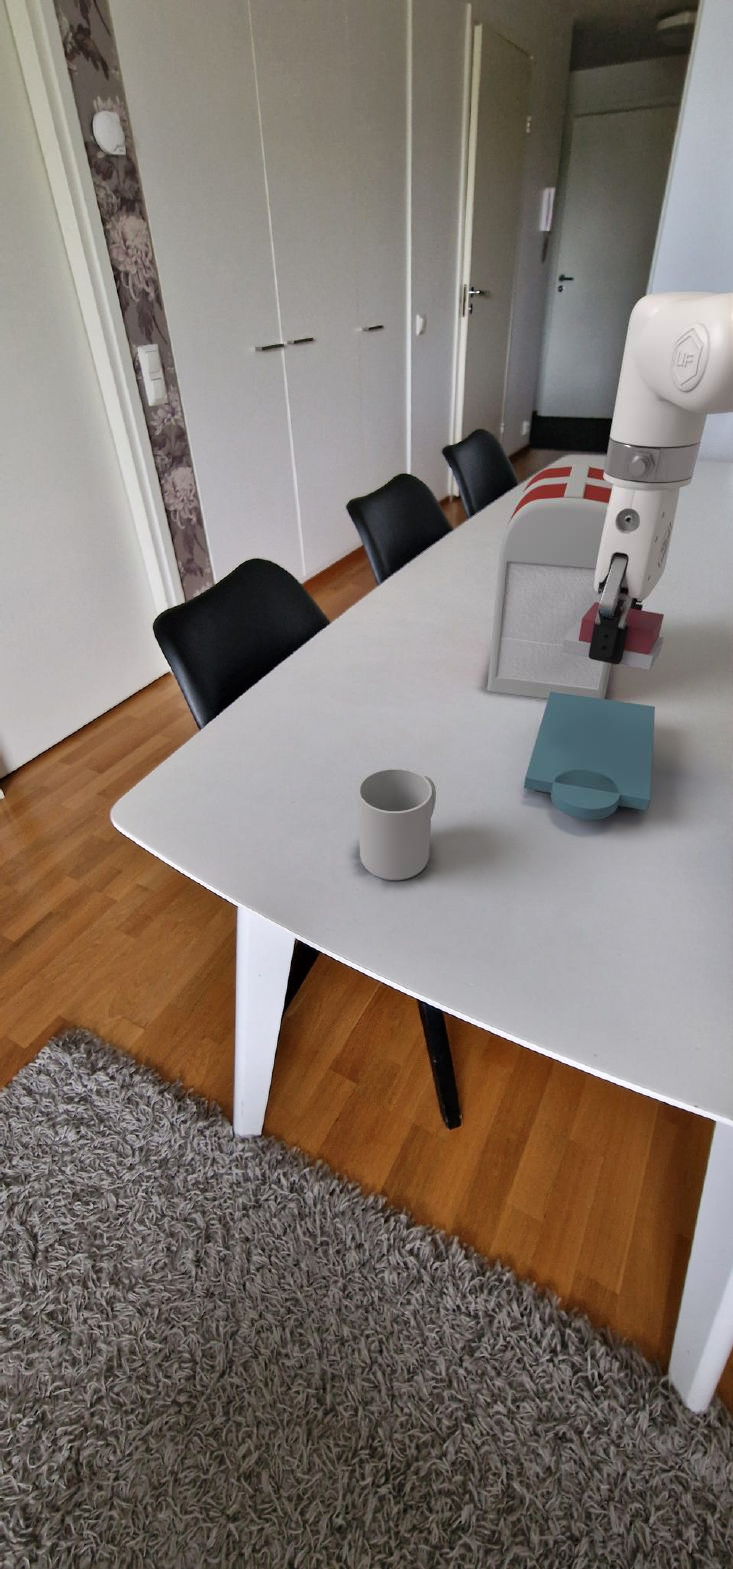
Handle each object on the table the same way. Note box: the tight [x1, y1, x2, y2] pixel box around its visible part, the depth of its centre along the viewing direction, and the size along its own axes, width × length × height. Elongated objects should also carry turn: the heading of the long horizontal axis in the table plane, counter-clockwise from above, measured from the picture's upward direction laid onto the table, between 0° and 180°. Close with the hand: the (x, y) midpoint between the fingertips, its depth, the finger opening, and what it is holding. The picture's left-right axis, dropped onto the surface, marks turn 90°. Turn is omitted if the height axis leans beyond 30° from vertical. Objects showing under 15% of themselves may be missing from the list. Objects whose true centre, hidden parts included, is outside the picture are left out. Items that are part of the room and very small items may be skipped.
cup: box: [356, 767, 437, 881], centre depth 71 cm, size 7×10×9 cm
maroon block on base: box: [562, 602, 665, 671], centre depth 72 cm, size 9×5×4 cm, turn 60°
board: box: [523, 692, 656, 821], centre depth 83 cm, size 24×13×4 cm, turn 161°
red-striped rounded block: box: [486, 463, 613, 700], centre depth 97 cm, size 16×18×27 cm
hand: (612, 647), depth 73 cm, fingers closed on maroon block on base, 5 cm apart
